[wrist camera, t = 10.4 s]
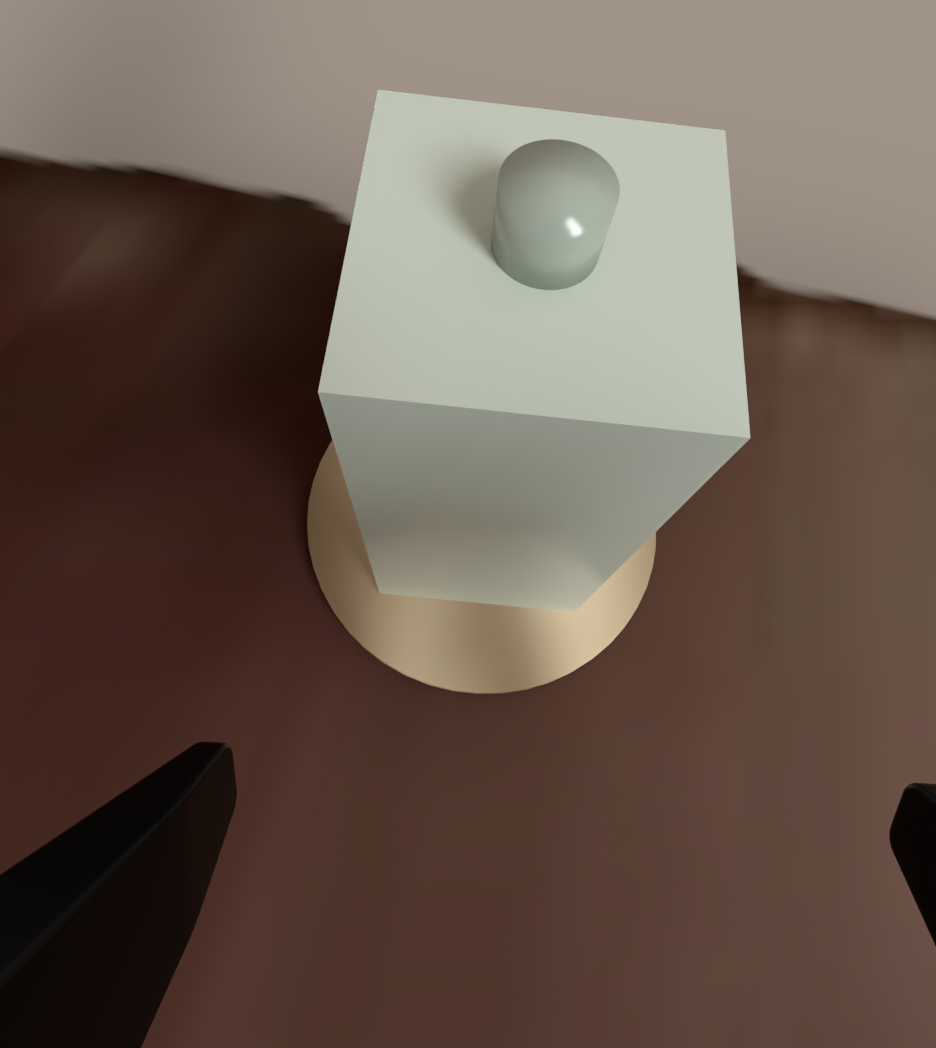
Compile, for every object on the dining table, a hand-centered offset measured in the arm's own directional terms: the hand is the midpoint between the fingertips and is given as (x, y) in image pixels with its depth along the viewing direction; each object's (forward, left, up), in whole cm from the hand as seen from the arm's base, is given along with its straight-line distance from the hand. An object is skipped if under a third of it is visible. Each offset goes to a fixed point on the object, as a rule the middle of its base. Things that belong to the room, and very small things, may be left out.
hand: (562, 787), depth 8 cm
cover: (+3, +8, -11) cm, 14 cm away
